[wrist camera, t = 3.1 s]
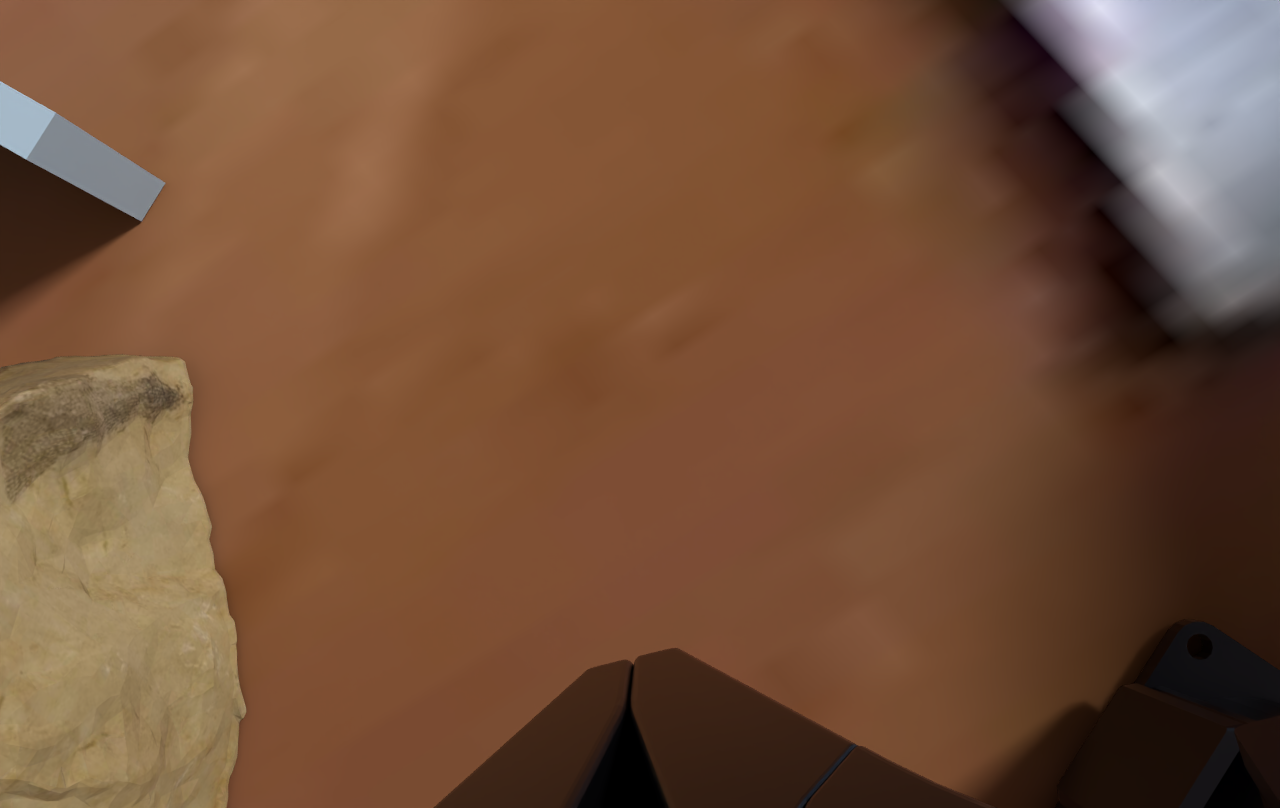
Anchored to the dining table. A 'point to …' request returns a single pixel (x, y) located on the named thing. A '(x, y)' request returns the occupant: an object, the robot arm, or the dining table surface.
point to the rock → (109, 593)
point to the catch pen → (74, 154)
